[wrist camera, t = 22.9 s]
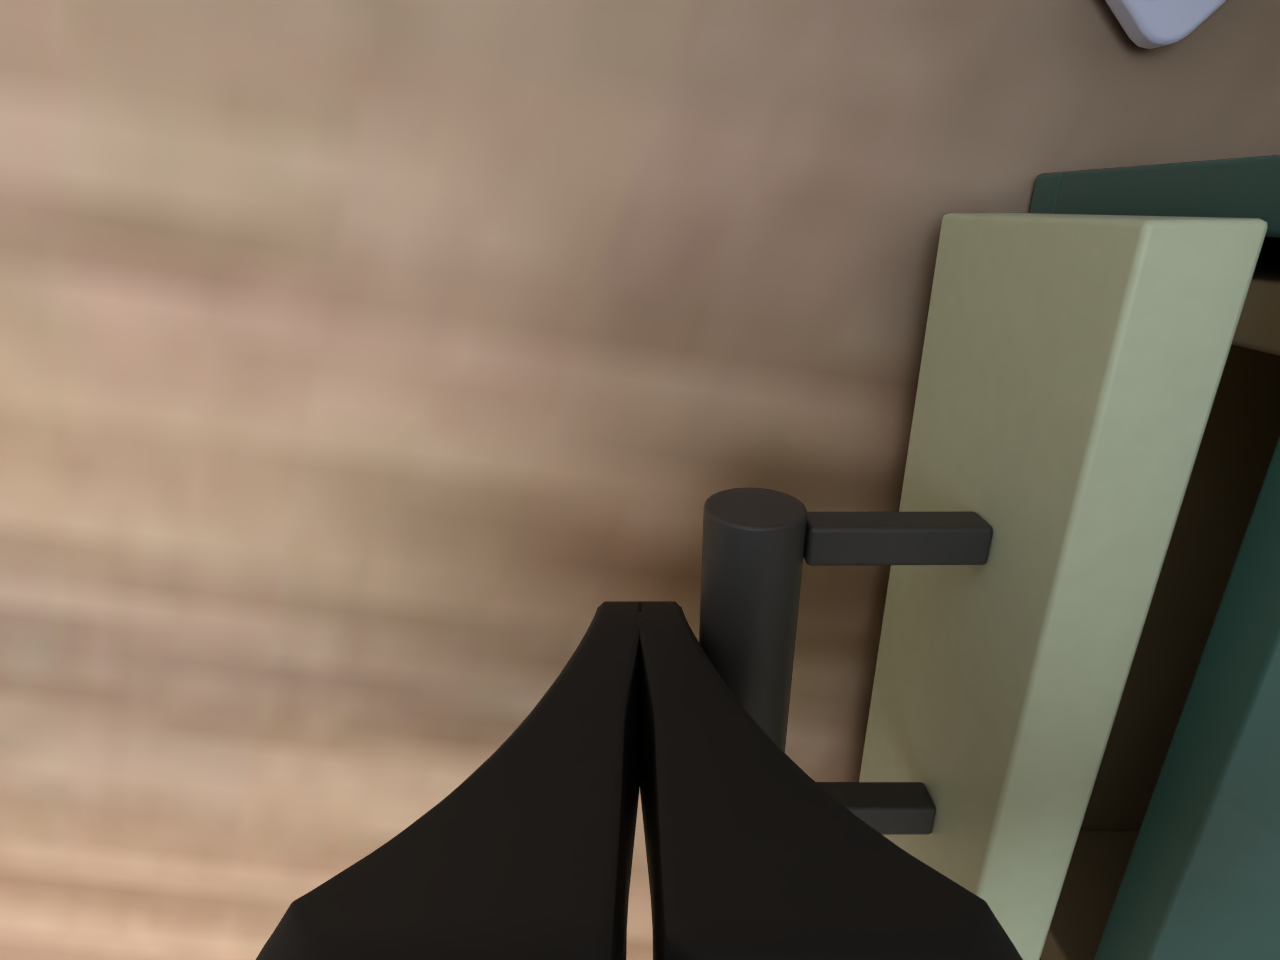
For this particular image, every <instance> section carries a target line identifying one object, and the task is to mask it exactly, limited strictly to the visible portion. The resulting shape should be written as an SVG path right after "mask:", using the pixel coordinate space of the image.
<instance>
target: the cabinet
mask: <svg viewBox="0 0 1280 960" xmlns="http://www.w3.org/2000/svg"><path fill="white" fill-rule="evenodd" d="M1030 213H1037V214H1083V215H1130V216H1176V217H1222V218H1259V219H1261V220H1263V221H1265V222H1267V226H1268V228H1267V231H1266V235H1265V238H1264V241H1263V244H1262V247H1261V251H1260V254H1259V257H1258V260H1280V155H1272V156H1260V157H1247V158H1234V159H1221V160H1208V161H1196V162H1183V163H1170V164H1157V165H1144V166H1132V167H1119V168H1106V169H1093V170H1080V171H1068V172H1056V173H1044V174H1041V175H1039V176H1038V177H1037V179H1036V182H1035V187H1034V192H1033V197H1032V203H1031V208H1030ZM1040 960H1041V958H1040ZM1094 960H1280V435H1279V438H1278V441H1277V444H1276V447H1275V450H1274V452H1273V455H1272V458H1271V461H1270V464H1269V466H1268V469H1267V472H1266V475H1265V478H1264V481H1263V483H1262V486H1261V489H1260V492H1259V495H1258V497H1257V500H1256V503H1255V506H1254V509H1253V512H1252V514H1251V517H1250V520H1249V523H1248V526H1247V529H1246V531H1245V534H1244V537H1243V540H1242V543H1241V545H1240V548H1239V551H1238V554H1237V557H1236V560H1235V562H1234V565H1233V568H1232V571H1231V574H1230V576H1229V579H1228V582H1227V585H1226V588H1225V591H1224V593H1223V596H1222V599H1221V602H1220V605H1219V607H1218V610H1217V613H1216V616H1215V619H1214V622H1213V624H1212V627H1211V630H1210V633H1209V636H1208V639H1207V641H1206V644H1205V647H1204V650H1203V653H1202V655H1201V658H1200V661H1199V664H1198V667H1197V670H1196V672H1195V675H1194V678H1193V681H1192V684H1191V686H1190V689H1189V692H1188V695H1187V698H1186V701H1185V703H1184V706H1183V709H1182V712H1181V715H1180V717H1179V720H1178V723H1177V726H1176V729H1175V732H1174V734H1173V737H1172V740H1171V743H1170V746H1169V749H1168V751H1167V754H1166V757H1165V760H1164V763H1163V765H1162V768H1161V771H1160V774H1159V777H1158V780H1157V782H1156V785H1155V788H1154V791H1153V794H1152V796H1151V799H1150V802H1149V805H1148V808H1147V811H1146V813H1145V816H1144V819H1143V822H1142V825H1141V827H1140V830H1139V833H1138V836H1137V839H1136V842H1135V844H1134V847H1133V850H1132V853H1131V856H1130V859H1129V861H1128V864H1127V867H1126V870H1125V873H1124V875H1123V878H1122V881H1121V884H1120V887H1119V890H1118V892H1117V895H1116V898H1115V901H1114V904H1113V906H1112V909H1111V912H1110V915H1109V918H1108V921H1107V923H1106V926H1105V929H1104V932H1103V935H1102V937H1101V940H1100V943H1099V946H1098V949H1097V952H1096V954H1095V957H1094Z"/></svg>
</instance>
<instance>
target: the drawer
mask: <svg viewBox="0 0 1280 960" xmlns="http://www.w3.org/2000/svg"><path fill="white" fill-rule="evenodd" d="M1267 228H1268V226H1267V222H1265V221H1263V220H1261V219H1259V218H1222V217H1176V216H1130V215H1083V214H1037V213H948V214H945V215H944V216H943V219H942V225H941V232H940V238H939V245H938V252H937V259H936V265H935V272H934V279H933V286H932V292H931V299H930V306H929V313H928V319H927V326H926V333H925V340H924V346H923V353H922V360H921V367H920V373H919V380H918V387H917V394H916V400H915V407H914V414H913V421H912V427H911V434H910V441H909V448H908V454H907V461H906V468H905V475H904V481H903V488H902V495H901V502H900V508H899V512H807V511H806V508H805V506H804V505H803V503H802V502H801V501H799V500H798V499H796V498H794V497H792V496H790V495H788V494H785V493H782V492H778V491H774V490H769V489H761V488H736V489H729V490H725V491H721V492H718V493H716V494H714V495H712V496H711V497H709V498H708V499H707V501H706V502H705V505H704V518H703V547H702V576H701V605H700V635H699V644H700V646H701V647H702V649H703V651H704V652H705V654H706V655H707V657H708V659H709V660H710V661H711V663H712V664H713V666H714V667H715V669H716V670H717V672H718V673H719V675H720V676H721V678H722V679H723V680H724V682H725V683H726V685H727V686H728V687H729V689H730V690H731V691H732V693H733V694H734V695H735V697H736V698H737V699H738V700H739V702H740V703H741V704H742V705H743V707H744V708H745V709H746V710H747V712H748V713H749V714H750V715H751V717H752V718H753V719H754V720H755V721H756V723H757V724H758V725H759V726H760V727H761V728H762V729H763V731H764V732H765V733H766V734H767V735H768V736H769V737H770V738H771V739H772V740H773V741H774V742H775V743H776V745H777V746H778V747H779V748H780V749H781V750H782V751H783V752H784V753H785V743H786V733H787V722H788V712H789V701H790V691H791V680H792V670H793V659H794V648H795V638H796V627H797V617H798V606H799V596H800V585H801V575H802V564H803V557H804V559H805V561H806V563H807V564H808V565H891V569H890V576H889V583H888V589H887V596H886V603H885V610H884V616H883V623H882V630H881V637H880V643H879V650H878V657H877V664H876V670H875V677H874V684H873V691H872V697H871V704H870V711H869V718H868V724H867V731H866V738H865V745H864V751H863V758H862V765H861V772H860V778H859V782H816V783H817V784H818V785H820V786H821V787H822V788H823V789H824V790H826V791H827V792H828V793H829V794H830V795H831V796H833V797H834V798H835V799H836V800H837V801H839V802H840V803H841V804H842V805H843V806H845V807H846V808H847V809H848V810H849V811H851V812H852V813H853V814H855V815H856V816H857V817H858V818H860V819H861V820H862V821H864V822H865V823H867V824H868V825H869V826H871V827H872V828H873V829H875V830H876V831H878V832H879V833H880V834H882V835H883V836H885V837H886V838H887V839H889V840H890V841H892V842H893V843H894V844H896V845H897V846H899V847H900V848H901V849H903V850H904V851H906V852H907V853H909V854H910V855H912V856H914V857H915V858H917V859H918V860H920V861H922V862H923V863H925V864H927V865H928V866H930V867H931V868H933V869H935V870H936V871H938V872H939V873H941V874H943V875H944V876H946V877H948V878H949V879H951V880H952V881H954V882H956V883H957V884H959V885H961V886H962V887H964V888H965V889H967V890H969V891H970V892H972V893H973V894H975V895H977V896H978V897H980V898H982V899H983V900H985V901H986V902H987V904H988V906H989V907H990V909H991V910H992V912H993V914H994V915H995V917H996V918H997V920H998V921H999V923H1000V924H1001V926H1002V927H1003V929H1004V930H1005V932H1006V934H1007V935H1008V937H1009V938H1010V940H1011V941H1012V943H1013V944H1014V946H1015V947H1016V949H1017V951H1018V952H1019V954H1020V956H1021V957H1022V959H1023V960H1040V958H1041V960H1094V957H1095V954H1096V952H1097V949H1098V946H1099V943H1100V940H1101V937H1102V935H1103V932H1104V929H1105V926H1106V923H1107V921H1108V918H1109V915H1110V912H1111V909H1112V906H1113V904H1114V901H1115V898H1116V895H1117V892H1118V890H1119V887H1120V884H1121V881H1122V878H1123V875H1124V873H1125V870H1126V867H1127V864H1128V861H1129V859H1130V856H1131V853H1132V850H1133V847H1134V844H1135V842H1136V839H1137V836H1138V833H1139V830H1140V827H1141V825H1142V822H1143V819H1144V816H1145V813H1146V811H1147V808H1148V805H1149V802H1150V799H1151V796H1152V794H1153V791H1154V788H1155V785H1156V782H1157V780H1158V777H1159V774H1160V771H1161V768H1162V765H1163V763H1164V760H1165V757H1166V754H1167V751H1168V749H1169V746H1170V743H1171V740H1172V737H1173V734H1174V732H1175V729H1176V726H1177V723H1178V720H1179V717H1180V715H1181V712H1182V709H1183V706H1184V703H1185V701H1186V698H1187V695H1188V692H1189V689H1190V686H1191V684H1192V681H1193V678H1194V675H1195V672H1196V670H1197V667H1198V664H1199V661H1200V658H1201V655H1202V653H1203V650H1204V647H1205V644H1206V641H1207V639H1208V636H1209V633H1210V630H1211V627H1212V624H1213V622H1214V619H1215V616H1216V613H1217V610H1218V607H1219V605H1220V602H1221V599H1222V596H1223V593H1224V591H1225V588H1226V585H1227V582H1228V579H1229V576H1230V574H1231V571H1232V568H1233V565H1234V562H1235V560H1236V557H1237V554H1238V551H1239V548H1240V545H1241V543H1242V540H1243V537H1244V534H1245V531H1246V529H1247V526H1248V523H1249V520H1250V517H1251V514H1252V512H1253V509H1254V506H1255V503H1256V500H1257V497H1258V495H1259V492H1260V489H1261V486H1262V483H1263V481H1264V478H1265V475H1266V472H1267V469H1268V466H1269V464H1270V461H1271V458H1272V455H1273V452H1274V450H1275V447H1276V444H1277V441H1278V438H1279V435H1280V260H1258V257H1259V254H1260V251H1261V247H1262V244H1263V241H1264V238H1265V235H1266V231H1267Z"/></svg>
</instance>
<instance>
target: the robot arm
mask: <svg viewBox="0 0 1280 960" xmlns="http://www.w3.org/2000/svg"><path fill="white" fill-rule="evenodd" d="M1105 1H1106V2H1107V4H1108V6H1109V7H1110V9H1111V10H1112V12H1113V13H1114V15H1115V17H1116V18H1117V20H1118V21H1119V23H1120V24H1121V26H1122V27H1123V29H1124V31H1125V32H1126V34H1127V35H1128V37H1129V38H1130V39H1131V40H1132V41H1133V42H1134V43H1135V44H1136V45H1137V46H1138V47H1142V48H1146V49H1154V48H1159V47H1163V46H1166V45H1170V44H1173V43H1176V42H1178V41H1180V40H1181V39H1183V38H1184V37H1186V36H1187V35H1189V34H1190V33H1191V32H1192V31H1194V30H1195V29H1196V28H1197V27H1198V26H1199V25H1200V24H1201V23H1202V22H1204V21H1205V20H1206V19H1207V18H1208V17H1209V16H1210V15H1211V14H1212V13H1213V12H1215V11H1216V10H1217V9H1218V8H1219V7H1220V6H1221V5H1222V4H1223V3H1224V2H1226V1H1227V0H1105ZM639 787H640V793H641V803H642V813H643V823H644V833H645V843H646V853H647V863H648V873H649V883H650V893H651V908H652V925H653V960H1023V959H1022V957H1021V956H1020V954H1019V952H1018V951H1017V949H1016V947H1015V946H1014V944H1013V943H1012V941H1011V940H1010V938H1009V937H1008V935H1007V934H1006V932H1005V930H1004V929H1003V927H1002V926H1001V924H1000V923H999V921H998V920H997V918H996V917H995V915H994V914H993V912H992V910H991V909H990V907H989V906H988V904H987V902H986V901H985V900H983V899H982V898H980V897H978V896H977V895H975V894H973V893H972V892H970V891H969V890H967V889H965V888H964V887H962V886H961V885H959V884H957V883H956V882H954V881H952V880H951V879H949V878H948V877H946V876H944V875H943V874H941V873H939V872H938V871H936V870H935V869H933V868H931V867H930V866H928V865H927V864H925V863H923V862H922V861H920V860H918V859H917V858H915V857H914V856H912V855H910V854H909V853H907V852H906V851H904V850H903V849H901V848H900V847H899V846H897V845H896V844H894V843H893V842H892V841H890V840H889V839H887V838H886V837H885V836H883V835H882V834H880V833H879V832H878V831H876V830H875V829H873V828H872V827H871V826H869V825H868V824H867V823H865V822H864V821H862V820H861V819H860V818H858V817H857V816H856V815H855V814H853V813H852V812H851V811H849V810H848V809H847V808H846V807H845V806H843V805H842V804H841V803H840V802H839V801H837V800H836V799H835V798H834V797H833V796H831V795H830V794H829V793H828V792H827V791H826V790H824V789H823V788H822V787H821V786H820V785H818V784H817V783H816V782H815V781H814V780H812V779H811V778H810V777H809V776H808V775H807V774H806V773H805V772H804V771H803V770H802V769H801V768H799V767H798V766H797V765H796V764H795V763H794V762H793V761H792V760H791V759H790V758H789V757H788V756H787V755H786V754H785V753H784V752H783V751H782V750H781V749H780V748H779V747H778V746H777V745H776V743H775V742H774V741H773V740H772V739H771V738H770V737H769V736H768V735H767V734H766V733H765V732H764V731H763V729H762V728H761V727H760V726H759V725H758V724H757V723H756V721H755V720H754V719H753V718H752V717H751V715H750V714H749V713H748V712H747V710H746V709H745V708H744V707H743V705H742V704H741V703H740V702H739V700H738V699H737V698H736V697H735V695H734V694H733V693H732V691H731V690H730V689H729V687H728V686H727V685H726V683H725V682H724V680H723V679H722V678H721V676H720V675H719V673H718V672H717V670H716V669H715V667H714V666H713V664H712V663H711V661H710V660H709V659H708V657H707V655H706V654H705V652H704V651H703V649H702V647H701V646H700V644H699V642H698V640H697V639H696V637H695V635H694V633H693V632H692V630H691V628H690V626H689V624H688V622H687V620H686V618H685V615H684V613H683V611H682V608H681V607H680V606H679V605H678V604H677V603H676V602H604V603H603V604H601V605H600V606H599V607H598V608H597V611H596V614H595V616H594V618H593V620H592V622H591V624H590V626H589V628H588V630H587V632H586V634H585V636H584V637H583V639H582V641H581V642H580V644H579V646H578V648H577V649H576V651H575V652H574V654H573V655H572V657H571V658H570V660H569V661H568V663H567V664H566V666H565V667H564V669H563V670H562V672H561V673H560V675H559V676H558V678H557V679H556V681H555V682H554V683H553V685H552V686H551V687H550V688H549V690H548V691H547V692H546V694H545V695H544V696H543V697H542V699H541V700H540V701H539V703H538V704H537V705H536V707H535V708H534V709H533V710H532V712H531V713H530V714H529V715H528V716H527V718H526V719H525V720H524V721H523V722H522V723H521V725H520V726H519V727H518V728H517V729H516V730H515V731H514V732H513V734H512V735H511V736H510V737H509V738H508V739H507V740H506V741H505V742H504V743H503V744H502V745H501V746H500V747H499V748H498V749H497V751H496V752H495V753H494V754H493V755H492V756H491V757H490V758H489V759H487V760H486V761H485V762H484V763H483V764H482V765H481V766H480V767H479V768H478V769H477V770H476V771H475V772H474V773H473V774H472V775H470V776H469V777H468V778H467V779H466V780H465V781H464V782H463V783H462V784H461V785H460V786H459V787H457V788H456V789H455V790H454V791H453V792H452V793H451V794H449V795H448V796H447V797H446V798H445V799H443V800H442V801H441V802H440V803H439V804H437V805H436V806H435V807H434V808H432V809H431V810H430V811H428V812H427V813H426V814H424V815H423V816H422V817H421V818H419V819H418V820H417V821H415V822H414V823H413V824H411V825H410V826H409V827H408V828H406V829H405V830H404V831H402V832H401V833H400V834H398V835H397V836H395V837H394V838H393V839H391V840H390V841H388V842H387V843H386V844H384V845H383V846H381V847H380V848H378V849H377V850H375V851H374V852H372V853H371V854H369V855H368V856H366V857H365V858H363V859H361V860H360V861H358V862H357V863H355V864H354V865H352V866H350V867H349V868H347V869H346V870H344V871H342V872H341V873H339V874H338V875H336V876H334V877H333V878H331V879H330V880H328V881H326V882H325V883H323V884H322V885H320V886H319V887H317V888H315V889H314V890H312V891H310V892H309V893H307V894H305V895H304V896H302V897H300V898H298V899H297V900H295V901H294V902H292V903H291V905H290V906H289V908H288V910H287V911H286V913H285V915H284V916H283V918H282V919H281V921H280V923H279V924H278V926H277V927H276V929H275V931H274V932H273V934H272V935H271V937H270V938H269V940H268V941H267V942H266V944H265V945H264V947H263V949H262V950H261V952H260V954H259V955H258V957H257V959H256V960H626V936H627V914H628V898H629V887H630V877H631V867H632V857H633V847H634V837H635V827H636V817H637V807H638V797H639Z"/></svg>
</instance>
